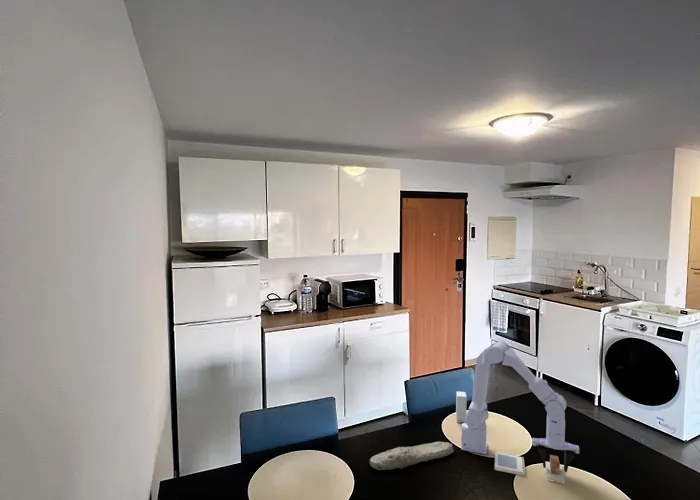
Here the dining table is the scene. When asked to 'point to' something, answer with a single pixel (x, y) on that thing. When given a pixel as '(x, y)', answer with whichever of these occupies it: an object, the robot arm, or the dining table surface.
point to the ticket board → (509, 463)
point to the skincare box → (461, 406)
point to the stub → (554, 469)
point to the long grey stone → (410, 455)
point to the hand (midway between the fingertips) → (554, 468)
